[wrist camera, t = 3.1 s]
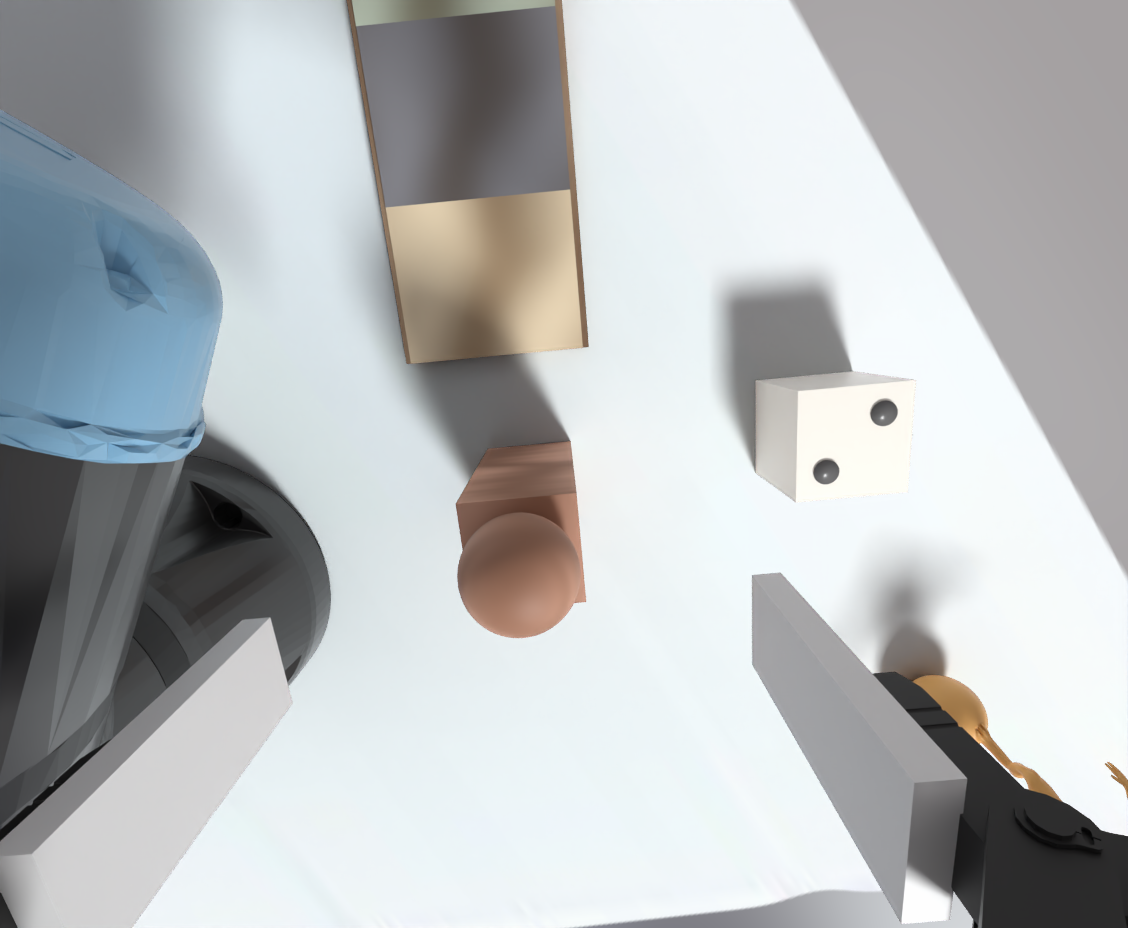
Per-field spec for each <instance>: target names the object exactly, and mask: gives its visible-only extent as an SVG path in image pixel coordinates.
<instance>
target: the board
mask: <svg viewBox="0 0 1128 928" xmlns="http://www.w3.org/2000/svg"><path fill="white" fill-rule="evenodd" d="M347 6H348V12H349V18H350V24H351V30H352V36H353V42H354V48H355V54H356V60H357V66H358V72H359V78H360V84H361V90H362V96H363V103H364V109H365V115H366V121H367V127H368V133H369V139H370V145H371V151H372V157H373V163H374V169H375V175H376V181H377V187H378V193H379V200H380V206H381V212H382V218H383V224H384V230H385V236H386V242H387V248H388V254H389V260H390V266H391V272H392V278H393V284H394V290H395V297H396V303H397V309H398V315H399V321H400V327H401V333H402V339H403V345H404V351H405V357H406V363H407V364H414V363H425V362H435V361H446V360H457V359H467V358H478V357H489V356H499V355H510V354H521V353H531V352H542V351H552V350H563V349H574V348H583V347H589V345H588V332H587V319H586V306H585V294H584V281H583V268H582V255H581V242H580V229H579V216H578V203H577V191H576V178H575V165H574V152H573V139H572V126H571V113H570V101H569V88H568V75H567V62H566V49H565V36H564V23H563V10H562V0H347Z"/></svg>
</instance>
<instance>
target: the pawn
mask: <svg viewBox="0 0 1128 928" xmlns="http://www.w3.org/2000/svg"><path fill="white" fill-rule="evenodd" d="M456 509H457V515H458V522H459V529H460V535H461V542H462V548H463V551H462V554H461V557H460V560H459V565H458V574H457V578H458V588H459V592H460V596H461V598H462V601H463V604H464V605H465V607H466V609H467V611H468V612H469V613H470V615H471V616H472V617H473V618H474V619H475V620H476V621H477V622H478V623H479V624H480V625H481V626H483V627H484V628H486V629H487V630H489V631H491V632H493V633H495V634H498V635H501V636H505V637H511V638H526V637H532V636H535V635H538V634H541V633H543V632H545V631H547V630H549V629H551V628H552V627H554V626H555V625H556V624H558V623H559V622H560V621H561V620H562V619H563V618H564V617H565V616H566V614H567V613H568V612H569V610H570V609H571V607H572V606H573V604H574V603H579V602H586V595H585V584H584V573H583V561H582V550H581V539H580V528H579V517H578V506H577V495H576V485H575V477H574V468H573V459H572V450H571V441H566V442H555V443H545V444H534V445H523V446H512V447H501V448H490V449H487V451H486V453H485V454H484V456H483V458H482V460H481V461H480V463H479V465H478V467H477V468H476V470H475V472H474V473H473V475H472V477H471V479H470V480H469V482H468V484H467V485H466V487H465V489H464V491H463V492H462V494H461V496H460V497H459V499H458V501H457V503H456Z"/></svg>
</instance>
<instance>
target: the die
mask: <svg viewBox="0 0 1128 928" xmlns="http://www.w3.org/2000/svg"><path fill="white" fill-rule="evenodd" d="M915 388H916V380H912V379H905V378H898V377H891V376H883V375H876V374H869V373H862V372H855V371H849V372H839V373H828V374H817V375H807V376H796V377H785V378H775V379H764V380H755V389H756V474H757V475H759V476H760V477H761V478H763V479H764V480H766V481H767V482H768V483H770V484H771V485H773V486H774V487H775V488H777V489H778V490H779V491H781V492H782V493H784V494H785V495H786V496H788V497H789V498H790V499H792V500H793V501H795V502H806V501H817V500H828V499H839V498H850V497H861V496H872V495H883V494H893V493H904V492H908V481H909V467H910V454H911V441H912V428H913V414H914V401H915Z"/></svg>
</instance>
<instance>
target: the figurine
mask: <svg viewBox="0 0 1128 928" xmlns="http://www.w3.org/2000/svg"><path fill="white" fill-rule="evenodd" d="M912 682H914V683H915V684H917V685H919V686H920V687H922V688H923V689H924V690H925V691H926V692H927V693H928V694H929V695H930V696H931V697H932V698H933V699H934V700H935V701H936V702H937V703H938V704H939V705H940V706H941V708H942V710H945V711H946V712H947V713H948V714H949V715H950V716H951V717H952V718H953V719H954V720H955V721H956V722H957V723H958V726H959V727H963V728H964V729H965V730H966V731H967V732H968V733H969V734H970V735H971V736H972V737H973V738H974V739H975V740H976V741H977V742H978V743H979V744H980V743H982V744H983V745H984V746H985V747H986V748H987V749H988V750H989V751H990V752H991V753H992V754H993V755H994V756H995V757H996V758H997V759H998V760H999V762H1001V763H1002V764H1003V765H1004V766H1005V767H1006V768H1007V769H1009V771H1010V772H1011V774H1012V775H1014V776H1015V777H1017V778H1025V780H1026V782H1027V784H1028V788H1029V790H1031V791H1035V792H1039V793H1043V794H1047V795H1049V796H1051V797H1053V798H1055V799H1057V800H1059V801H1061V800H1060V798H1059V797H1058V796H1057V794H1056V793H1055V792H1054V790H1053V789H1052V788H1051V787H1050V786H1049V784H1047V783H1046V782H1045V781H1044V780H1043V779H1042V778H1041V777H1040V776H1039V775H1038V774H1037V773H1036V772H1035V771H1034V770H1032V769H1030V768H1027V767H1025V766H1024V765H1022V764H1020V763H1016V762H1014V763H1012V762H1011V761H1010V759H1009V758H1008V757H1007V756H1006V755H1005V753H1004V752H1003V751H1002V750H1001V749H1000V748H999V746H998V745H997V744H996V743H995V742H994V741H993V739H992V738H991V736H990V734H989V732H988V730H987V728H988V719H987V714H986V711H985V708H984V706H983V704H982V702H981V701H980V699H979V698H978V697H977V696H976V694H975V693H974V692H973V691H972V690H971V689H969V688H968V687H967V686H965V685H964V684H962V683H961V682H959V681H957V680H955V679H952V678H949V677H946V676H941V675H927V676H922V677H920V678H917V679H915V680H914V681H912ZM1107 763H1108V764H1109V765H1110V766H1111V767H1112V768H1111V767H1110V766H1109V765H1108V764H1106V763H1105V765H1106V766H1107V767H1108V768H1109V769H1110V770H1111V771H1112V772H1113V774H1114V775H1115V776H1116V777H1117V778H1116V777H1115V776H1113V775H1111V776H1112V778H1114V779H1115V780H1116V781H1117V782H1119V783H1120V784H1122V785H1123V786H1124V788H1125V790H1126V794H1127V798H1128V780H1127V778H1126V777H1125V776H1124V775H1123V774H1122V773H1121V772H1120V771H1119V770H1118V769H1117V768H1116V767H1115V766H1114V765H1112V764H1111V763H1109V762H1107Z"/></svg>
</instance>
